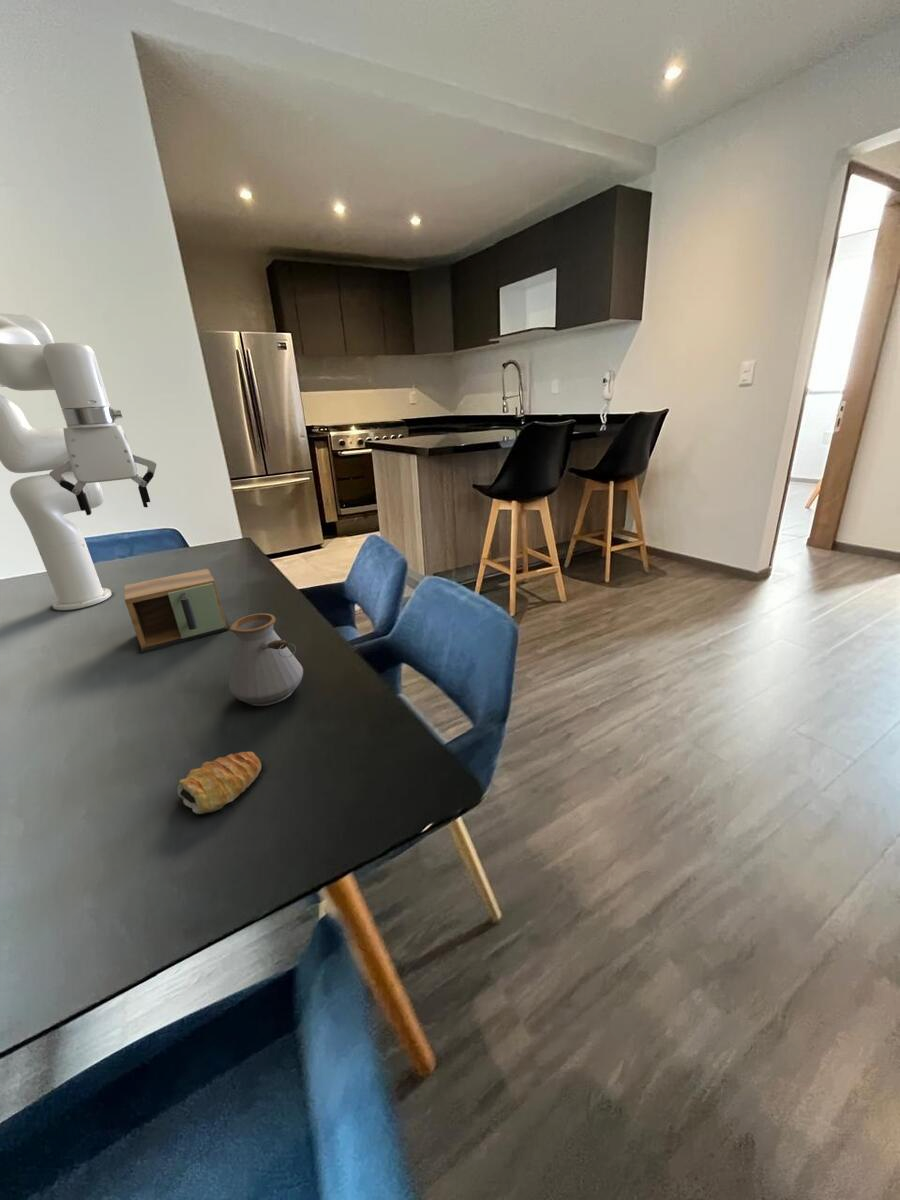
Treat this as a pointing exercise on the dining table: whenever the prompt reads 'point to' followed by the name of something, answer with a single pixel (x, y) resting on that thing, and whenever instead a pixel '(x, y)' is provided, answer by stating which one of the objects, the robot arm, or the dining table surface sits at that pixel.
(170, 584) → the cabinet
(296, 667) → the coffee pot
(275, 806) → the dining table surface
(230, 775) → the pastry
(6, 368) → the robot arm
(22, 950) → the dining table surface
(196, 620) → the sliding door
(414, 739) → the dining table surface
